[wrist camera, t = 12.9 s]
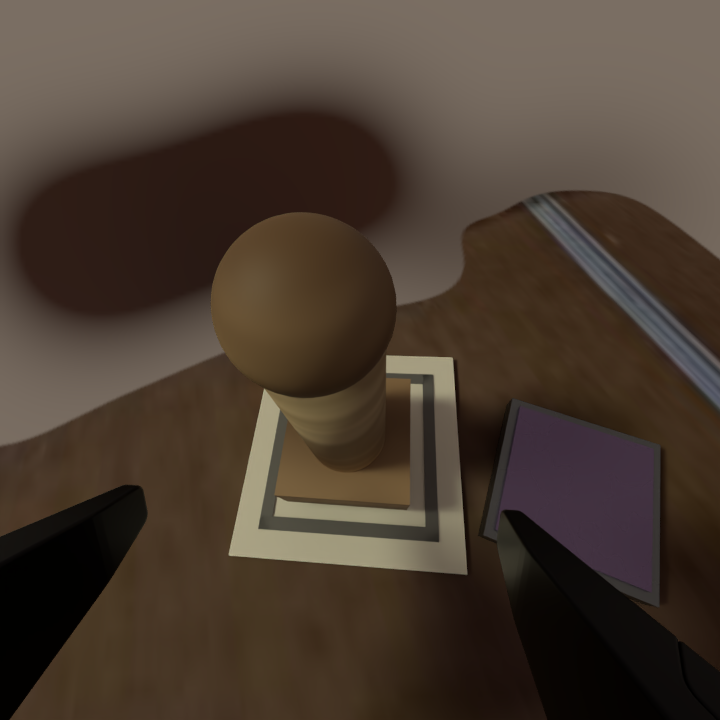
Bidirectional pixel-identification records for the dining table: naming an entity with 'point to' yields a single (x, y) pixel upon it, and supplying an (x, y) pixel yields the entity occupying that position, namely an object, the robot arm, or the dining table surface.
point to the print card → (364, 524)
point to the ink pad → (582, 493)
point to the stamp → (320, 356)
